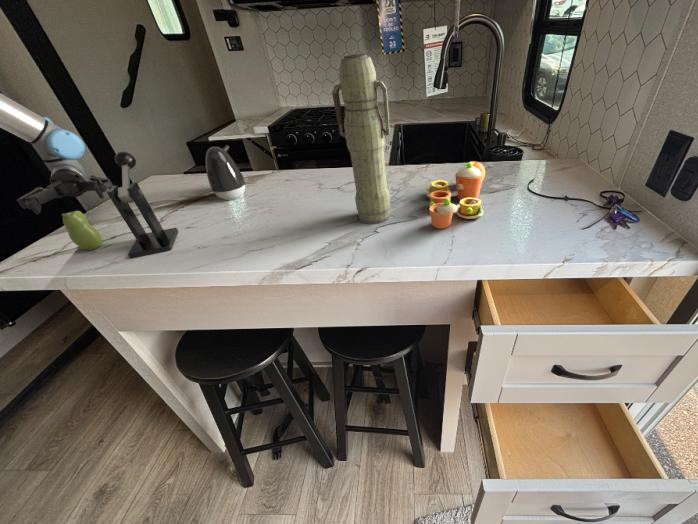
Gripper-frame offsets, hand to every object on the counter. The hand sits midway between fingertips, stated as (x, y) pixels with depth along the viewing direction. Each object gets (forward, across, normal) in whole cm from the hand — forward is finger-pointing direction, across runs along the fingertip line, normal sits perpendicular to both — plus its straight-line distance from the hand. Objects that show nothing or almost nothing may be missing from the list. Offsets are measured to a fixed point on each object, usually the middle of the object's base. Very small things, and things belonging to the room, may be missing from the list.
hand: (67, 201), depth 86 cm
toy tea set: (+59, -80, -10) cm, 100 cm away
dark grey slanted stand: (+19, -13, -10) cm, 25 cm away
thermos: (+47, -62, -10) cm, 79 cm away
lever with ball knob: (+14, -15, +4) cm, 21 cm away
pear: (+9, 0, -10) cm, 14 cm away
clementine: (+51, -95, -10) cm, 109 cm away
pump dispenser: (+1, -38, -10) cm, 39 cm away
